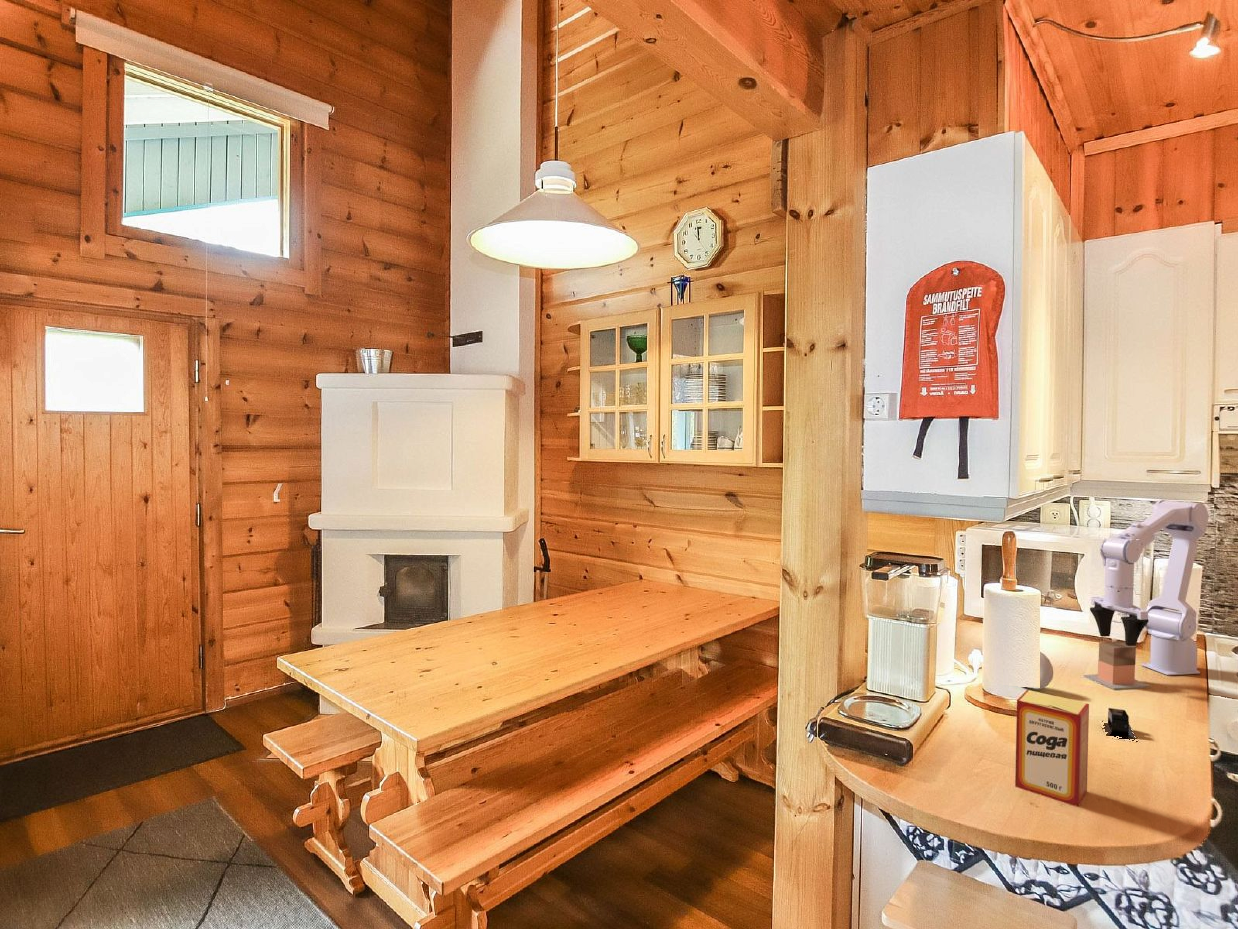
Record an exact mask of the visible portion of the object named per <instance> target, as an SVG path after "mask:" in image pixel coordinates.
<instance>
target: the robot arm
mask: <svg viewBox="0 0 1238 929" xmlns="http://www.w3.org/2000/svg"><path fill="white" fill-rule="evenodd" d="M1209 516H1210V515H1209V512H1208V509H1207V507H1206V505H1205V504H1204V503H1203V502H1187V501H1176V500H1175V501H1174V500H1166V499H1159V500H1158V501H1157V502H1156V503H1154V504H1153V507H1152V513H1151V514H1149V516H1147V518H1145V520H1143V521H1142V522H1132V523H1131V524H1130V525H1129V526H1128V527H1127V528H1126V529H1124V530H1123V531H1122V532H1120V533H1118V535H1117V536H1115V537H1114V536H1113V537H1112V536H1109V537H1108V538H1106V539H1104V540H1103V541H1102V543H1101V545H1100V548H1099V554H1100V556H1101V558H1102V565H1103V567H1105V568H1104V570H1105V572H1104V573H1105V574H1104V597H1099V596H1095V597H1094V596H1091V598H1090V604H1091V605H1092V606H1094V607H1091V606H1090V607H1089V611H1090V612H1091V614H1092V616H1093V618H1094V620H1095V622H1096V626H1097V628H1098V632H1099V636H1100V637H1110V636H1111V630H1112V622H1113V618H1114V615H1115V613H1116V612H1118V613H1121V614H1124V615H1126V616H1120V620H1121V621H1122V624H1123V625H1122V626H1123V628H1124V641H1125V642H1124V643H1126V645H1127V646H1135V647H1136V646H1137V643H1138V640H1139V638H1140V635H1141V632H1142V631H1143V630H1144V628H1145V629H1146V630H1147V633H1148V634H1150V656H1149V657H1150V659H1149V662H1141V663H1140V665H1141V666H1143V667H1145V668H1147V669H1150V670H1153V671H1156V672H1158V673H1161V674H1164V675H1167V676H1177V675H1178V676H1179V675H1181V676H1182V675H1194V674H1200V673H1201V671H1199V670H1198V646H1197V644H1196V642H1195V640H1194V639H1193V638H1192V637H1193V636H1194V635H1195V634H1196V631H1197V611H1196V610H1195V609H1194V608H1193V607H1192V606H1191V605H1190V604H1189V603H1188V602H1187V601H1186V600H1187V595H1188V591H1189V586H1190V582H1191V576H1192V572H1193V568H1194V562H1195V559H1196V558H1195V557H1196V553H1197V549H1198V545H1199V539H1201V538H1203V537H1205V535H1206V531H1207V526H1208V521H1209ZM1161 530H1163V531H1164V532H1165V533H1167V534H1169V535H1170V536H1171V538H1172V542H1171V546H1170V551H1169V556H1168V561H1167V566H1166V570H1165V574H1164V578H1163V584H1162V589H1161V594H1160V596H1158V597H1155V598H1153V599H1151V600H1149V601H1148V604H1147V607H1146V609H1142V608H1140V607H1138V606H1136V605H1134V590H1135V589H1134V586H1135V584H1134V583H1135V582H1134V581H1135V579H1134V578H1135V577H1134V576H1135V563H1137V562H1138V561H1139V560H1140V556H1141V554H1142V553H1143V551H1144V549H1145V548H1146V547H1147V546H1149V545H1150V544H1151V543H1153V542H1154V541H1155V538H1156V533H1158V532H1160V531H1161Z"/></svg>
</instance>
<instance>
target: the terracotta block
mask: <svg viewBox="0 0 1238 929" xmlns="http://www.w3.org/2000/svg"><path fill="white" fill-rule="evenodd" d="M1097 662H1098V663H1097V664H1098V665H1097V674H1098V678H1099V679H1102V680H1104V681H1106V682H1109V683H1111V684H1125V683H1134V682H1135V680H1136V678H1135V676H1136V675H1135V674H1136V664H1135V665H1125V666H1112V665H1109V664H1107V663H1104V662H1102V661H1099V659H1098V660H1097Z"/></svg>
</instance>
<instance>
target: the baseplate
mask: <svg viewBox="0 0 1238 929" xmlns="http://www.w3.org/2000/svg"><path fill="white" fill-rule="evenodd" d="M1083 678H1086V679H1088V678H1089V679H1088V680H1090V679H1091V681H1093V682H1095V681H1096V682H1095V683H1097V682H1098V684H1099V683H1100V685H1102V684H1103V685H1102V686H1104V685H1105V686H1104V687H1107V688H1109V689H1111V690H1114V691H1116V690H1133V689H1147V688H1148V689H1149V688H1151V685H1150V684H1146V683H1145V682H1142V681H1140V680H1137V679H1135V682H1134V683H1125V684H1111V683H1109V682H1106V681H1104V680H1102V679H1099V678H1098V673H1097V674H1084V675H1083Z"/></svg>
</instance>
